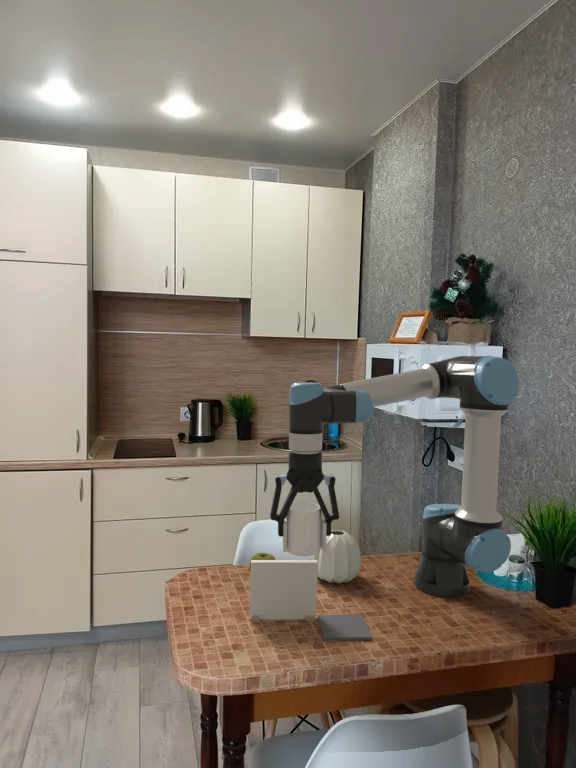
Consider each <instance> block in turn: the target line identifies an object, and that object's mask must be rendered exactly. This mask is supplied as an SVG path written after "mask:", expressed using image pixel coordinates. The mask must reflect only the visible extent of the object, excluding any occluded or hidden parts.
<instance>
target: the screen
mask: <svg viewBox="0 0 576 768" xmlns="http://www.w3.org/2000/svg"><path fill="white" fill-rule="evenodd" d="M250 561H251V571H250V589H249V591H250V592H249V621H251V623H260V622H261V620H263V621H266V620H270V621H271V620H278V621H279V620H305V622H308V623H309V622H311V623H313V622H315V620H316V619H317V597H318V595H317V591H318V576H317V566H318V562H317V560H313V559H276V560H251V559H250Z"/></svg>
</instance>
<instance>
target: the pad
mask: <svg viewBox="0 0 576 768" xmlns="http://www.w3.org/2000/svg"><path fill="white" fill-rule="evenodd" d="M317 622H318V625H319V628H320V631H321V637H322V639H323V641H372V640H373V637H372V634H371V631H370V630H369V627H368V625H367V623H366V621H365V617H363V614H325V615H324V614H322V615H321V614H318V615H317Z"/></svg>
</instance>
